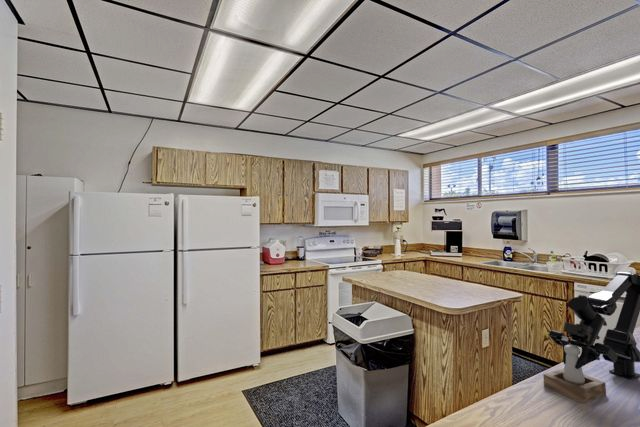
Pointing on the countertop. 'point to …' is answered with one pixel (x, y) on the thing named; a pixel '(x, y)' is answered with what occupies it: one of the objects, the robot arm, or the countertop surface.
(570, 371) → the salt shaker
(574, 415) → the countertop surface
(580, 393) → the socket block
